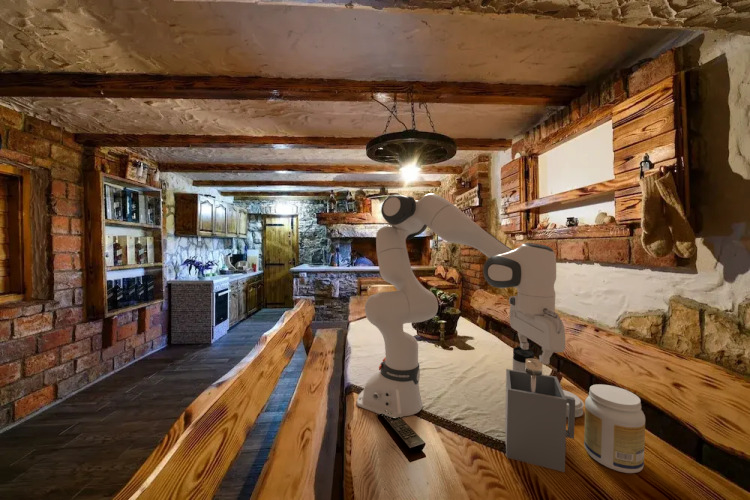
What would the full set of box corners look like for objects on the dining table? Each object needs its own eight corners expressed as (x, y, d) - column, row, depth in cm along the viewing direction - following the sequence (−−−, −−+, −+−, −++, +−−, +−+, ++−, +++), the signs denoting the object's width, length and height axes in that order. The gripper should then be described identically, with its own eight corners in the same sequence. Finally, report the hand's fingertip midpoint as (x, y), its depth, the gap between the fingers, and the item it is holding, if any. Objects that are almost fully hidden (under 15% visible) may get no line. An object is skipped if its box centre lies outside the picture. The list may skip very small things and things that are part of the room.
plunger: (512, 449, 78) (514, 365, 77) (510, 427, 88) (512, 352, 87) (556, 460, 75) (559, 372, 74) (549, 436, 84) (552, 357, 83)
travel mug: (527, 403, 103) (528, 346, 102) (535, 414, 97) (537, 353, 96) (508, 402, 104) (509, 345, 103) (515, 413, 97) (517, 352, 96)
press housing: (506, 457, 78) (507, 389, 77) (505, 427, 90) (506, 369, 89) (579, 476, 72) (581, 402, 71) (567, 441, 84) (569, 378, 83)
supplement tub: (647, 459, 77) (650, 394, 76) (639, 484, 69) (642, 413, 68) (590, 435, 86) (592, 377, 86) (577, 455, 78) (579, 392, 78)
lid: (541, 414, 97) (541, 399, 97) (536, 395, 108) (537, 382, 108) (588, 424, 92) (588, 408, 92) (578, 403, 104) (578, 389, 103)
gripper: (574, 315, 69) (571, 373, 70) (526, 296, 90) (525, 341, 90) (547, 315, 69) (545, 373, 70) (506, 296, 89) (504, 341, 90)
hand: (533, 355), depth 80 cm, fingers open, 8 cm apart
